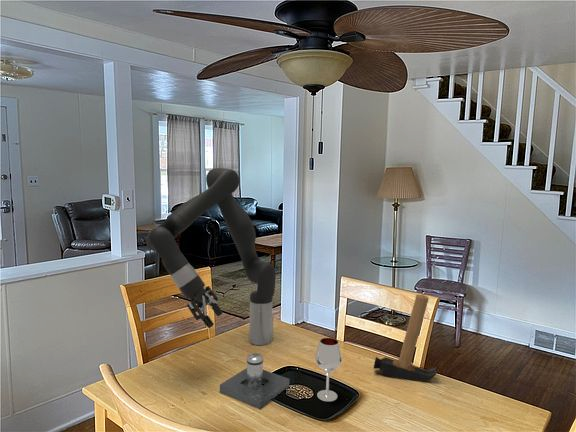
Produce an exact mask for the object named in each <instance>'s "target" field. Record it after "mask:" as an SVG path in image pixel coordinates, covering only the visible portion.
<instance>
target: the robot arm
mask: <svg viewBox="0 0 576 432" xmlns="http://www.w3.org/2000/svg"><path fill="white" fill-rule="evenodd" d="M205 181H206V185H207V186H206V187H207V189H205V190H203V192H201V193H200V194H198V195H196V196H194V197H192V198H190V199H188V200H187V201H184V202H183V203H182V204H181V205H179V206H178V207H177V208H176V209H175V210H174V211H172V212H171V213H170V214H169V215H168V216H167V217H166V219H165V220H164V221H162V222H161V223H160V224H159V225H157V226H155V227H154V228H152V230H150V232H149V233H147V236H146V238H145V244H146V247H147V248H148V249H149V250H151V251H153V252H157V254H158V255H159V257H160V258H161V263H162V265H163V267H164V269H165V270H166V272H167V273H168V274H169V275H170V277H171V279H172V281H173V282H174V284H175V286H176V287H177V288H178V290H179V291H180V293H181V294H182V295H183V296H184V298H185V299H190V302H189V303H187V304H186V306H187V308H188V309H189V312H190V313H191V314H192V315H193V317H194V318H195V320H196V321H199V320H202V322H203V323H204V324H205V327H207V328H208V329H210V328H212V327H213V326H214V325H215V324H214V322H213V320H212V319H211V318H210V316H209V315H208V314H207V313H208V312H207V306H209V307H210V308H211V309H212V310H213V313H214V314H215V315H216V317H219V316H221V315H222V314H223V311H222V309H221V308H220V306H219V305H218V301H219V298H218V296H217V295H216V293H215V292H214V291H213V289H212V288H211V287H210V286H209V285H207V286H206V284H205V282H204V281H203V279H202V278H201V277H200V275H199V273H198V272H197V271H196V269H195V268H194V267H193V266H192V265H191V264H190V263H189V261H188V259H187V258H186V257H185V255H184V254H183V253H182V252H181V250H180V247H179V245H178V243H177V241H176V239H175V238H177V236H178V235H180V234H182V233H183V232H184V231H185V230H187V228H189V227H190V226H191V225H192V224H193V223H195V221H197V219H198V218H199V217H201V216H202V215H203V214H205V213H206V212H207V211H208V210H210V209H211V208H212V207H214V206H215V205H216V204H217V207H218V208H219V211H220V213H221V215H222V217H223V219H224V220H223V221H225V224H226V226H227V228H228V231H229V233H230V236H231V238H232V241H233V242H234V245H235V247H236V249H237V252H238V254H239V257H240V259H241V263H242V266H243V269H244V272H245V276H246V277H247V279H248V280H249V281H250V282H251V283H253V284H257V289H256V291H255V290H254V291H252V292H251V293H250V294H249V295H250V296H249V331H248V332H249V333H248V334H249V343H250V344H251V345H256V346H266V345H269V344H270V343H272V340H273V339H274V335H273V334H274V317H273V301H274V300H273V298H274V295H275V290H276V278H277V276H276V275H277V274H276V268H275V266H274V265H273V264H272V263H270V262H265V261H261V259H260V258H259V256H258V254H257V251H256V248H255V247H256V246H255V245H256V237H257V235H256V229H255V227H254V224H253V223H252V219H251V218H250V216H249V215H248V213H247V212H246V211H245V209H244V208H242V206H241V205H240V204H239V203H238V202H237V201H236V199H235V197H234V195H233V193H234V192H235V191H236V190H237V189H238V188H239V185H240V176H239V174H238V173H237V171H235V170H233V169H231V168H222V167H219V168H218V167H215V168H212V169H210V170H209V171H208V172H207V174H206V178H205ZM205 286H206V287H205Z"/></svg>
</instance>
